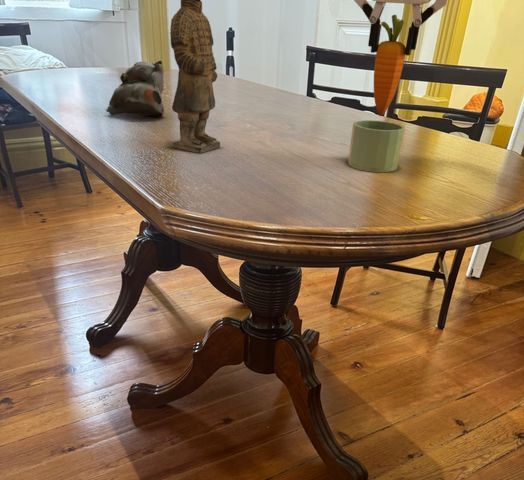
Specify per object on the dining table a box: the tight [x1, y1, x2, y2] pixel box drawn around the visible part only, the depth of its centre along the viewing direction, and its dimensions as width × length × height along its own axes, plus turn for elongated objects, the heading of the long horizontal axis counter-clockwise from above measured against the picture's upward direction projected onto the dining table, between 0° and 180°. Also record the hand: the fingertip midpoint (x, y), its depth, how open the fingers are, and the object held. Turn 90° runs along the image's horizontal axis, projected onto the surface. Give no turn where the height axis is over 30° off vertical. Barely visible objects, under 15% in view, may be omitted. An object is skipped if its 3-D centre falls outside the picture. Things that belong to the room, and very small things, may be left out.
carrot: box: [373, 14, 406, 117], centre depth 87 cm, size 5×5×15 cm
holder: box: [347, 119, 406, 173], centre depth 94 cm, size 9×9×7 cm
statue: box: [169, 0, 221, 154], centre depth 92 cm, size 10×8×30 cm
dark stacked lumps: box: [105, 60, 165, 118], centre depth 122 cm, size 15×12×14 cm
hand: (390, 52), depth 85 cm, fingers closed on carrot, 4 cm apart
